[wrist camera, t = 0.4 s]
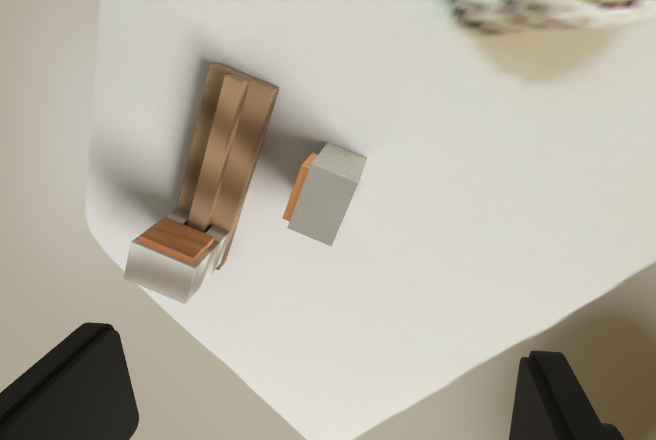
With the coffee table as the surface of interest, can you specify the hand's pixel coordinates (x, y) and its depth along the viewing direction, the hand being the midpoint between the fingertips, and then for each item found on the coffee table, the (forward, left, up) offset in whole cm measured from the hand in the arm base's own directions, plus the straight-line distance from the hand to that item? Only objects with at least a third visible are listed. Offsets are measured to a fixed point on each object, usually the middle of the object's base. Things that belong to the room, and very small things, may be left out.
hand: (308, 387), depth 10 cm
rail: (+10, -13, -33) cm, 37 cm away
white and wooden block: (+6, -2, -33) cm, 33 cm away
